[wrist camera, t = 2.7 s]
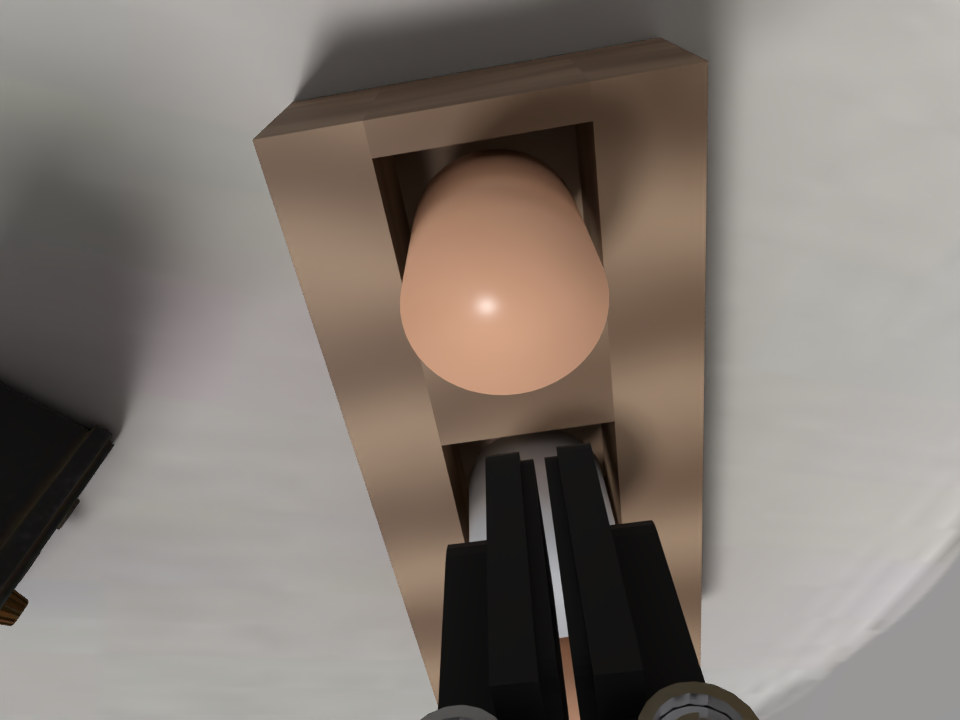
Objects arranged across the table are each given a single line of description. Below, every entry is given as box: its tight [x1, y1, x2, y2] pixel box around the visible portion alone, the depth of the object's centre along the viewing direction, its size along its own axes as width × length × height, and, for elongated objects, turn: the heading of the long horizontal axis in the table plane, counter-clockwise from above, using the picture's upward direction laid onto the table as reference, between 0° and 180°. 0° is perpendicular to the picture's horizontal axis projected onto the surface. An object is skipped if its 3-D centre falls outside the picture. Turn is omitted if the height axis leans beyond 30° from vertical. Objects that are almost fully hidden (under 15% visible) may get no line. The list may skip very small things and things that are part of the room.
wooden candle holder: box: [253, 38, 708, 704], centre depth 27 cm, size 28×12×5 cm, turn 9°
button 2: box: [400, 149, 609, 395], centre depth 19 cm, size 5×5×5 cm
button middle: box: [469, 430, 615, 638], centre depth 24 cm, size 5×5×5 cm
